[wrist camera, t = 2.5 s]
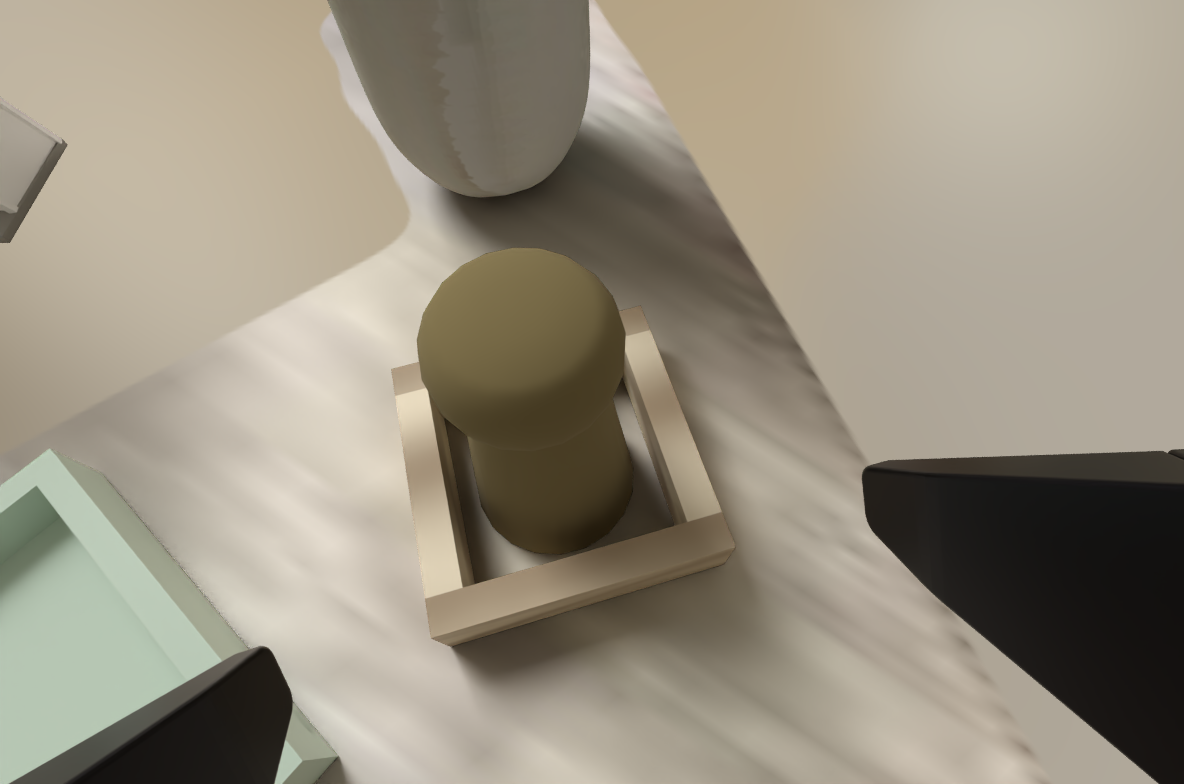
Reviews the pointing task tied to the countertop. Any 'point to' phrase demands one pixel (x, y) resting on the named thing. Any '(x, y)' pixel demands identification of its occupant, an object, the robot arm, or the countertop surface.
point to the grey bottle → (473, 84)
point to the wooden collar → (581, 577)
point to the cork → (533, 393)
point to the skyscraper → (23, 165)
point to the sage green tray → (99, 621)
